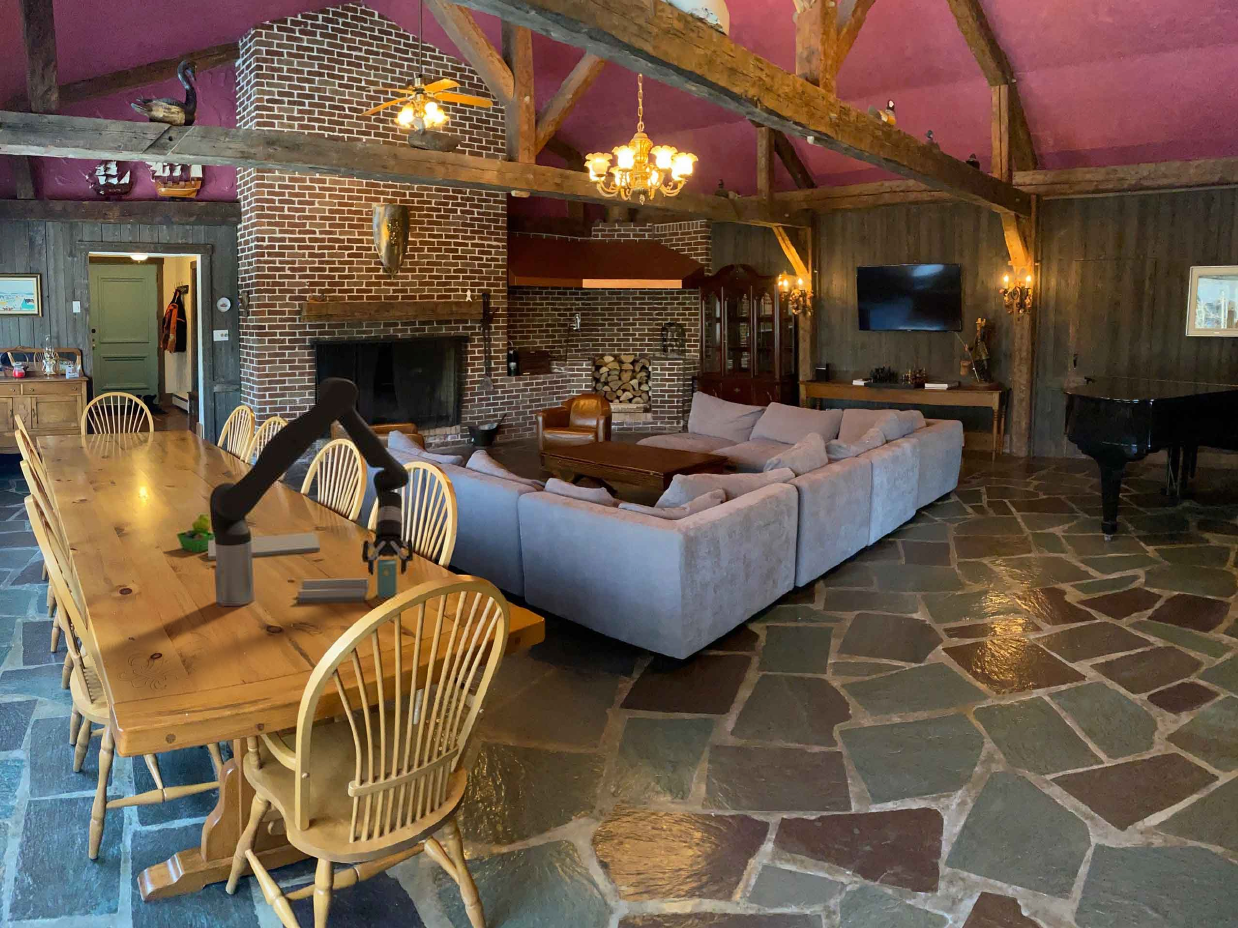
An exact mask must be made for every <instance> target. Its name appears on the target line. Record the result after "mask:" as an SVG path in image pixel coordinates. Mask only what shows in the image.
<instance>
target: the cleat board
mask: <svg viewBox="0 0 1238 928" xmlns="http://www.w3.org/2000/svg"><path fill="white" fill-rule="evenodd" d="M369 589H370V584H369V582H368V578H367V577H361V578H360V577H357V578H356V577H355V578H353V577H352V578H325V579H324V578H323V579H316V578H315V579H302V581H301V589H299V590H297V604H319V603H321V604H322V603H324V604H325V603H347V602H348V603H352V602H353V603H355V602H358V603H359V602H365V601H366V597H367V595H368V591H369Z"/></svg>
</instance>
